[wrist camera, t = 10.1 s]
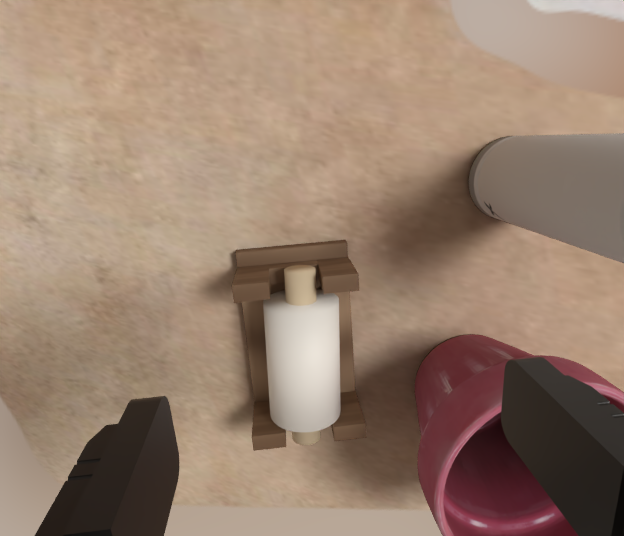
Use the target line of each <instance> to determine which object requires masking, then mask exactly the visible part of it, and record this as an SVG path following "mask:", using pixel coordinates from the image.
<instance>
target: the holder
mask: <svg viewBox="0 0 624 536" xmlns="http://www.w3.org/2000/svg"><path fill="white" fill-rule="evenodd" d="M236 261H237V270H236V273H235V276H234V280H233V283H232V291H233V299H234V303H237V302H242V308H243V316H244V324H245V332H246V339H247V347H248V355H249V363H250V371H251V379H252V386H253V394H254V415H253V428H252V442H253V450H263V449H271V448H280V447H286V430H285V429H283V428H281V427H279V426H278V425H276V424H275V423H274V422H273V420H272V419H271V416H270V403H269V387H268V371H267V356H266V340H265V325H264V309H263V301H264V300H267V299H270V295H271V294H273V293H276V292H279V291H283V290H285V277H284V269H285V268H287V267H290V266H295V265H309V266H313V267H315V268H316V289H321V290H323V293H324V294H328V293H334V294H335V295H337V296H338V298H339V338H340V406H341V412H340V416H339V418H338V419H337V421H336V422H335V423H333V424H332V425H331V426H332V431H333V436H334V441H340V440H348V439H357V438H365V437H366V423H365V419H364V416H363V413H362V410H361V407H360V404H359V401H358V398H357V395H356V391H355V376H354V358H353V340H352V322H351V305H350V291H358V290H359V278H358V272H357V271H356V269H355V267H354V266H353V264H352V263H351V261H350V259H349V258H348V251H347V242H346V241H345V240H338V241H328V242H317V243H306V244H295V245H284V246H274V247H263V248H252V249H241V250H236Z"/></svg>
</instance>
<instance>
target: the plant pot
mask: <svg viewBox="0 0 624 536" xmlns="http://www.w3.org/2000/svg"><path fill="white" fill-rule="evenodd" d="M533 357H543V358H545V359H546V360H547V361H548V362H550V363H551V364H552V365H553V366H554V367H555V368H557V369H558V370H559V371H560V372H561V373H562V374H564V375H565V376H566V375H569V376H571V377H573V378H575V379H577V380H579V381H581V382H583V383H585V384H587V385H590V386H592V387H593V388H594V389H595V390H597V391H598V392H599V393H600V394H601V395H603V396H604V397H605V398H606V399H608V400H609V402H610V404H614V405H615V406H616V407H617V408H618V409H620V410H621V411H622V412H623V413H624V392H622V391H621V390H620V389H618V388H617V387H615V386H614V385H613V384H611V383H610V382H608V381H607V380H605V379H604V378H602V377H601V376H599V375H598V374H596V373H595V372H593V371H592V370H590V369H588V368H586V367H585V366H583V365H581V364H579V363H576V362H574V361H571V360H568V359H564V358H560V357H554V356H534V355H531V354H529V353H527V352H524V351H522V350H519V349H517V348H515V347H512V346H510V345H507V344H504V343H502V342H499V341H497V340H494V339H492V338H489V337H486V336H482V335H462V336H457V337H454V338H451V339H449V340H447V341H445V342H443V343H441V344H440V345H438V346H437V347H436V348H434V349H433V350H432V351H431V352H430V353H429V354H428V355H427V356H426V358H425V359H424V360H423V362H422V363H421V365H420V367H419V370H418V372H417V375H416V380H415V397H416V404H417V412H418V419H419V426H420V432H421V440H420V445H419V451H418V475H419V480H420V484H421V487H422V490H423V493H424V495H425V498H426V500H427V503H428V505H429V507H430V510H431V512H432V514H433V517H434V519H435V521H436V523H437V525H438V527H439V529H440V531H441V534H442V535H443V536H578V534H577V533H576V532H575V530H574V529H573V528H572V526H571V525H570V524H569V522H568V521H567V520H566V518H565V517H564V516H563V514H562V513H561V512H560V510H559V509H558V508H557V506H556V505H555V504H554V502H553V501H552V500H551V498H550V497H549V496H548V494H547V493H546V492H545V490H544V489H543V488H542V486H541V485H540V484H539V482H538V481H537V480H536V478H535V477H534V476H533V474H532V473H531V472H530V470H529V469H528V467H527V466H526V465H525V463H524V462H523V461H522V459H521V458H520V457H519V455H518V454H517V453H516V451H515V450H514V449H513V447H512V446H511V445H510V443H509V442H508V440H507V438H506V436H505V434H504V431H503V427H502V422H501V408H502V395H503V383H504V370H505V365H506V363H507V362H508V361H509V360H514V359H524V358H533Z"/></svg>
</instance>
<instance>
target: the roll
mask: <svg viewBox="0 0 624 536" xmlns="http://www.w3.org/2000/svg"><path fill="white" fill-rule="evenodd" d="M284 277H285V290H283V291H279V292H276V293H273V294H271V295H270V299H267V300H264V301H263V309H264V325H265V340H266V356H267V371H268V387H269V403H270V416H271V419H272V420H273V422H274V423H275V424H276V425H278V426H279V427H281V428H283V429H285V430H288V431H292V438H293V440H294V442H296V443H297V444H300V445H312V444H314V443H316V442H318V441H319V439H320V430H322V429H325V428H327V427H329V426H330V425H332V424H333V423H335V422H336V421H337V419H338V418H339V416H340V412H341V406H340V338H339V298H338V296H337V295H335V294H334V293H328V294H324V293H323V290H321V289H316V268H315V267H313V266H309V265H295V266H290V267H287V268H285V269H284Z"/></svg>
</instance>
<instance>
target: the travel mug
mask: <svg viewBox="0 0 624 536" xmlns="http://www.w3.org/2000/svg"><path fill="white" fill-rule="evenodd" d="M469 191H470V194H471V198H472V200H473V202H474V203H475V205H476V206H477V207H478V208H479V209H480V211H482V212H483V213H485V214H486V215H488V216H491V217H493V218H496V219H499V220H502V221H504V222H507V223H510V224H513V225H516V226H519V227H522V228H524V229H527V230H530V231H533V232H536V233H539V234H542V235H544V236H547V237H550V238H553V239H556V240H559V241H562V242H564V243H567V244H570V245H573V246H576V247H579V248H582V249H585V250H587V251H590V252H593V253H596V254H599V255H602V256H605V257H607V258H610V259H613V260H616V261H619V262H622V263H624V133H622V134H578V135H534V136H507V137H502V138H499V139H497V140H495V141H493V142H491V143H490V144H488V145H487V146H486V147H485V148H484V149H483V150H482V151H481V152H480V153H479V154H478V156H477V157H476V159H475V160H474V163H473V165H472V167H471V170H470V174H469Z"/></svg>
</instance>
